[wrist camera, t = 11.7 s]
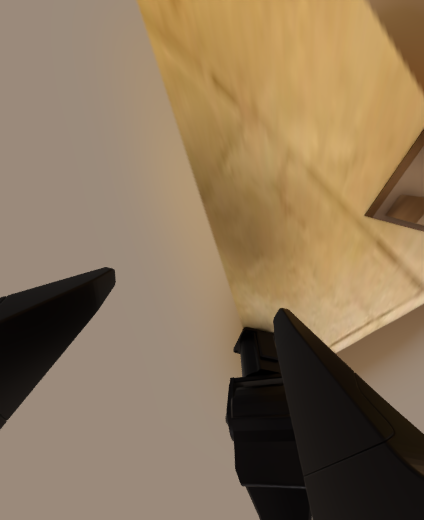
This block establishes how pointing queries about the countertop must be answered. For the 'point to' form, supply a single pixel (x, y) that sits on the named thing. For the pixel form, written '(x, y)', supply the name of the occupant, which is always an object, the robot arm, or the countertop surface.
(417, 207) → the cradle
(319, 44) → the countertop surface
